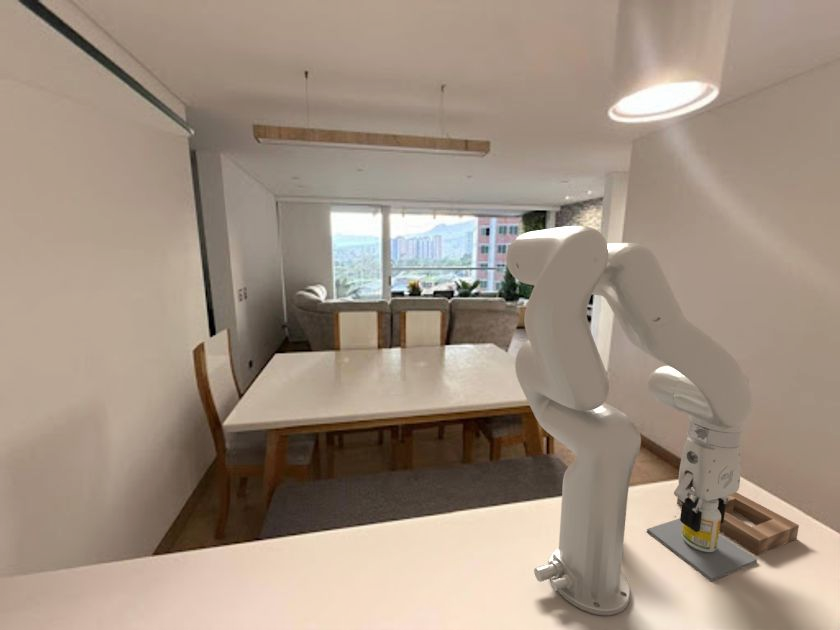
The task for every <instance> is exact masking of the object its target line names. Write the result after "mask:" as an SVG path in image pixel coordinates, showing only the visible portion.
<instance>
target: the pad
mask: <svg viewBox="0 0 840 630" xmlns="http://www.w3.org/2000/svg"><path fill="white" fill-rule="evenodd" d="M682 529H683V523H682V522H681V521H680V517H679V518H677V519H674V520H671V521H667V522H664V523H662V524H658V525H655V526H652V527H649V528H647V529H646V532H647V533H649V534H650V535H651V536H652V537H654V539H656V540H657V541H659V542H660V543H661V544H662V545H663V546H665V547H666V548H668V549H669V550H670V551H672V552H673V553H674V554H675V555H676V556H678V557H679V558H681V559H682V560H683V561H685V562H686V563H687V564H688V565H690V567H692V568H694V569H695V570H696V571H697V572H698V573H700V574H701V575H703V576H704V577H705V578H706V579H708V580H709V582H713V581H715V580H718V579H720V578H723V577H725V576H727V575H729V574H732V573H735V572H737V571H739V570H742V569H744V568H747V567H749V566H751V565H753V564H756V563H757V562H758V559H757V558H756V557H755V556H753V555H752V554H750V553H748V552H747V551H745V550H744V549H742V548H741V547H739V546H737V545H736V544H734V543H733V542H731V541H730V540H728V539H727V538H725V537H723V536H722V535H720V534H719V536H718V542H717V548H716V550H715V551H713V552H704V551H700V550H697V549H695V548H693V547H692V546H690V545H689V544H688V543H687V542H686V541H685V540H684V539H683V537H682Z"/></svg>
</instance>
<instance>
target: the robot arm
mask: <svg viewBox="0 0 840 630" xmlns="http://www.w3.org/2000/svg"><path fill="white" fill-rule="evenodd" d="M505 260H506V261H505V262H506V265H507V269H508V271H509V273H510V275H512V277H514V278H515V280H517V281H519V282H520V283H523V284H526V285H530V286H533V289H532V291H531V294H530V296H529V298H528V301H527V304H526V308H525V311H524V316H523V317H524V318H523V320H524V321H523V322H524V324H523V325H524V329H525V332H526V335H527V338H528V340H527V341H525V342H524V343H523V344H522V345H521V346H520V348H519V349H518V351H517V354H516V356H515V361H514V362H515V363H514V367H515V374H516V378H517V380H518V381H517V382H518V383H519V385H520V388H521V389H522V391H523V394H524V396H525V398H526V401H527V403H528V405H529V407H530V409H531V412H532V413H533V415H534V417H535V419H536V421H537V422H538V424H539V425H540V427H541V428H542V429H543V430H544V431H546V433H547V434H549V435H550V436H552V437H553V438H554V439H555V440H557V441H558V442H559V443H561V445H564V446H565V447H566V448H567V449H568V450H570V451H571V452H572V453H573V456H574V460H573V462H572V463H571V464H570V465H569V466H568V467H567V468H566V470H565V472H564V475H563V479H562V487H561V490H562V492H561V493H562V495H561V510H560V525H559V538H558V539H559V540H558V548H557V549H555V550H554V551H553V552H552V553H551V554H550V556H549V558H548V563H547V565H544V564H543V565H541V566H540V565H539V566H537V567H535V568H534V570H533V572H534V575H535V578H536V580H537V581H538V582H539V583H542V582H544V581H547V580H550V584H551V588H552V589H553V590H554V591H555V592H556V591H557V592H558V593H559V594H560V596H562V597H563V598H564V599H565V601H567V602H569V603H570V604H571V605H573V606H574V607H577V608H579V609H580V610H582V611H584V612H588V613H590V614H594V615H599V616H611V615H612V616H613V615H616V614H619V613H621V612H623V611H624V610H625V609H626V608H627V606H628V604H629V602H630V599H631V597H630V596H631V595H630V594H631V587H630V584H629V582H628V580H627V579H628V578H627V577H626V576H625V574H624V573H623V571H622V561H623V551H624V541H625V540H624V539H625V528H626V518H627V507H628V505H627V504H628V498H629V497H628V495H629V487H630V481H631V477H632V473H633V469H634V467H635V464H636V461H637V458H638V455H639V453H640V448H641V444H642V436H641V432H640V430H639V428H638V426H637V424H636V423H635V422H634V420H632V418H630V417H629V416H628V415H627V414H626V413H624V412H623V411H621V410H619V409H618V408H616V407H614V406H612V405H610V404H608V403H606V400H607V399H608V397H609V392H610V391H609V390H610V383H609V382H610V381H609V377H608V374H607V371H606V368H605V365H604V362H603V359H602V358H601V355H600V353H599V349H598V346H597V344H596V342H595V339H594V336H593V334H592V331H591V328H590V325H589V321H588V315H587V314H588V307H589V302H590V300H591V296H592V295H593V296H601V297H603V298H604V299H605V300H606V302H607V304H608V306H609V307H610V309H611V311H612V312H613V315H614V316H615V318H616V320H617V322H618V323H619V325H620V327H621V329H622V331H623V332H624V334H625V336H626V338H627V340H628V341H629V342H630V343H631V344H632V345H634V346H635V347H637V348H638V349H639V350H641V351H642V352H644V353H645V354H646V355H649V356H651V358H654V359H655V360H658V361H659V362H662V364H663V363H664V364H665V365H662V366H659V367H658V368H656V369H655V370H653V371H652V372H651V374H649V376H648V379H647V383H646V388H647V391H648V393H649V395H650V396H651V397H652V399H654V400H655V401H657V402H658V403H660V404H661V405H664V406H666V407H669V408H671V409H673V410H676V411H678V412H681V413H684V414H686V415H688V422H687V431H686V441H685V444H684V448H683V450H682V455H681V460H680V464H679V470H678V471H679V472H678V485H677V487H676V488H675V490H674V492H673V495H674V496H675V497H676V498H678V499H679V500H680V503H681V504H682V507H681V509H680V517H679V518H680V521H681V522H682V523H683V524H685V525H686V526H688V527H689V528H691V529H692V530H694V531H695V532H699V531H700V524H701V516H702V512H700V511H699V510H700V507H701V505H702V502H703V501H711V500H715V499H718V501H719V503H718V508H717V509H718V510H719V511H720V513H721V523H720V524H722V523H723V522H724V515H725V508H726V505H725V504H726V503H727V502H728V495H731V494H734V493H736V492H737V493H738V491H739V489H740V484H741V474H742V447H741V442H742V434H743V427H744V423H745V422H746V421H747V420H748V418H749V417H750V415H751V412H752V410H753V397H752V391H751V388H750V386H749V383H750V378H749V376H748V373H746V372H745V371H744V370H743V369H742V367H741V365H740V364H739V363H738V361H737V360H736V359H735V358H734V357H733V355H732V354H731V353H730V352H729V351H728V350H727V349H726V348H724V346H722V345H721V344H720V343H718V342H717V341H716V340H715V339H713V338H712V337H711V336H709V334H708V333H706V332H705V331H703V330H702V329H701V328H700V327H698V326H697V325H696V324H694V323H693V322H691V321H690V320H689V319H688V318H687V317H686V316H685V315H684V313H683V311H682V308H681V306H680V304H679V302H678V300H677V297H676V295H675V293H674V291H673V289H672V287H671V285H670V282H669V280H668V278H667V277H666V274H665V273H664V271H663V268H662V266H661V264H660V262H659V260H658V258H657V257H656V254H655V253H654V252H653V250H651V249H650V248H649V247H648V246H646V245H643V244H640V243H638V242H637V243H636V242H610V243H609V242H608V243H607V241H606V238H605V236H604V235H603V233H601V232H600V231H599V230H597V229H596V228H592V227H589V226H584V225H570V226H568V225H567V226H559V227H553V228H552V227H551V228H547V229H540V230H532V231H528V232H524V233H522V234H520V235H518V236H517V237H516V238H515V239H514V240H513V241H512V242H511V243H510V245H509V247H508V249H507V252H506V258H505ZM692 487H693V488H694V491H693V490H692V489H691V488H692ZM690 494H692V495H693V496H695V497H696V500H695V502H693V501H692V500H691V499H690V498H689V496H690ZM724 503H725V504H724Z"/></svg>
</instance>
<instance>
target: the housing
mask: <svg viewBox="0 0 840 630" xmlns="http://www.w3.org/2000/svg"><path fill="white" fill-rule="evenodd" d="M691 489H692V490H694V488H693V487H692V488H691ZM676 498H677V497H676ZM689 498H690V499H691V494H690V496H689ZM724 504H725V503H724ZM676 505H678V506H679V507H681V508H682V504H681V503H680V500H679V499H678V498H677V501H676ZM725 505H726V508H725V515H724V522H723V523H722V524H720V529H719V533H720V532H721V533H722V534H724V535H725V536H726V537H728V538H730V540H733V541H735V543H738V545H741V546H742V547H744V548H746V549H747V550H748V551H750V552H751V553H752V554H755V555H756V556H759V555H760V554H764V553H767V552H768V551H771V550H773V549H776V548H778V547H781V546H783V545H785V544H787V543H791V542H792V541H796V540H797V538H798V535H799V534H798V532H799V527H800V525H799V524H797V523H796V522H794V521H792V520H789V519H788V518H786V517H784V516H782V515H780V514H778V513H777V512H775V511H773V510H771V509H769V508H767V507H765V506H763V505H761V504H760V503H757V502H756V501H753V500H752V499H750V498H748V497H746V496H744V495H742V494H740V493H739V492H738V491H737V492H736V493H734V494H731V495H728V502H727V503H726V504H725ZM731 512H734V513H736V514H738V515H739V516H741V517H743V518H745V519H747V520H748V521H750V522H752V523H753V524H755V525H754V526H751V525H749V524H747V523H746V522H744V521H742V520H740V519H739V518H737V517H735V516H733V515H732V514H730V513H731Z"/></svg>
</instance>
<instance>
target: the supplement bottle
mask: <svg viewBox="0 0 840 630" xmlns="http://www.w3.org/2000/svg"><path fill="white" fill-rule="evenodd" d="M693 491H694V490H693ZM691 500H692V501H693V502H695V500H696V497H695V496H693V495H692V494H691ZM718 503H719V501H718V499H715V500H711V501H703V502H702V505H701V507H700V510H699V511H700V512H702V516H701V524H700V531H699V532H695V531H694V530H692V529H691V528H689V527H688V526H686V525H685V524H683V529H682V537H683V539H684V540H685V541H686V542H687V543H688V544H689V545H690V546H692V547H693V548H695V549H697V550H700V551H704V552H713V551H715V550H716V548H717V542H718V536H719V535H720V531H719V529H720V523H721V513H720V511H719V510H718V509H717V508H718Z"/></svg>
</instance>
